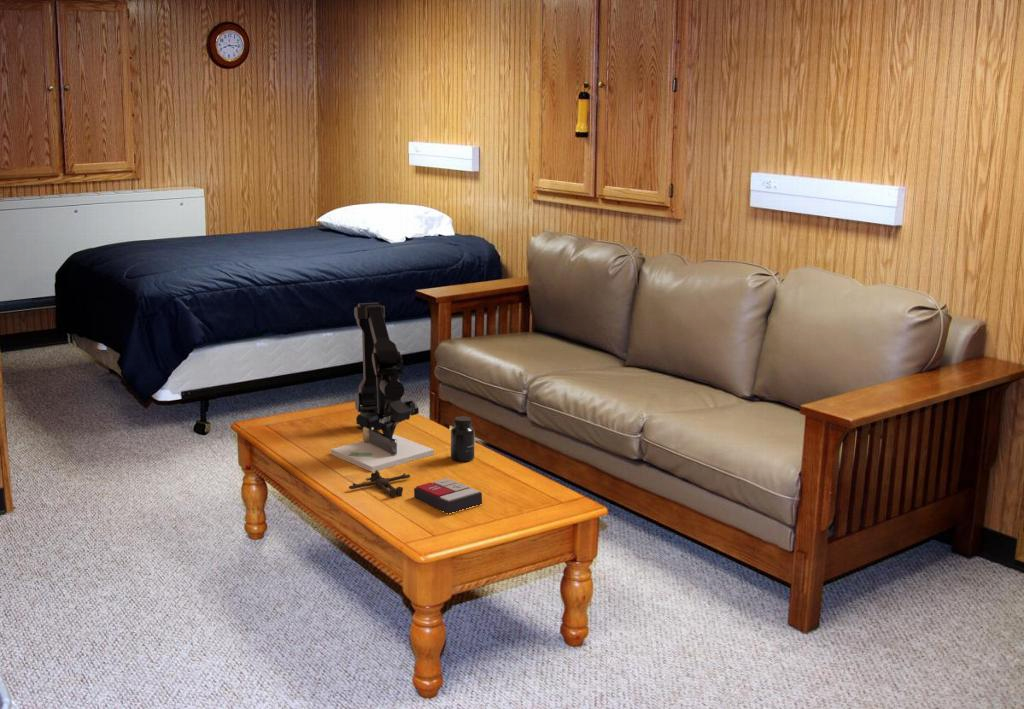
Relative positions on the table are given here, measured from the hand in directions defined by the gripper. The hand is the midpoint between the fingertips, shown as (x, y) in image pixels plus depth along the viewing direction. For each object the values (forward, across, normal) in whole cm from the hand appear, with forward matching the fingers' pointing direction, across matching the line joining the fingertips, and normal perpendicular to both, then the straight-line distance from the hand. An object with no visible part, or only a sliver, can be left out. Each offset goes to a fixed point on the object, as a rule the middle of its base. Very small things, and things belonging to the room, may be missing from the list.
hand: (389, 442), depth 313 cm
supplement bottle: (+4, +12, -18) cm, 22 cm away
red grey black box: (+4, -12, -40) cm, 42 cm away
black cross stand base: (+3, -19, -22) cm, 29 cm away
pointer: (+1, -2, +1) cm, 3 cm away
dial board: (+3, -2, 0) cm, 4 cm away
